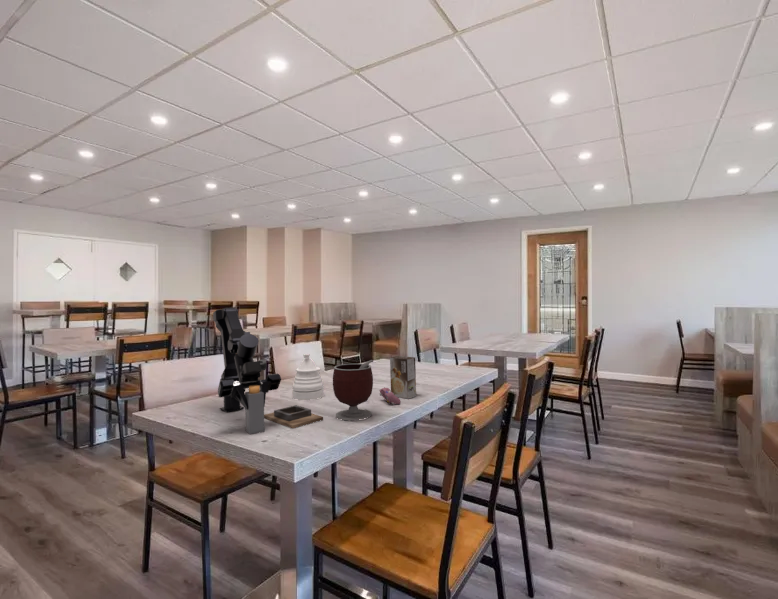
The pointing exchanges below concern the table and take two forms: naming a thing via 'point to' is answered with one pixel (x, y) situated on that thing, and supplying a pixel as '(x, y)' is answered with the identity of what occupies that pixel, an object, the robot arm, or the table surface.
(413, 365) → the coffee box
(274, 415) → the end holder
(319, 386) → the honey pot
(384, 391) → the pink oblong lump
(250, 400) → the connector plug
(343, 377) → the mate gourd
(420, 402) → the table surface
